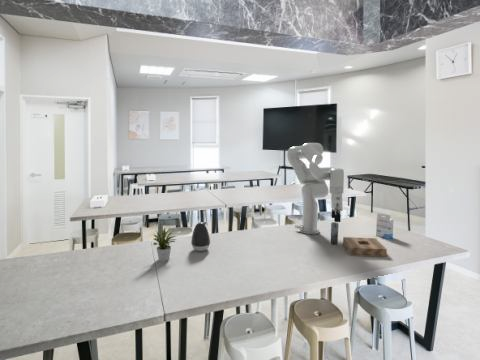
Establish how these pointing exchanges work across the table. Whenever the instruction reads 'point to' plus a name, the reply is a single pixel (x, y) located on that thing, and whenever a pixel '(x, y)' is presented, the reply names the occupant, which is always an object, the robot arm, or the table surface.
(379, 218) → the ink box
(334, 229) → the peg
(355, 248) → the socket
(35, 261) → the table surface
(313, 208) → the robot arm
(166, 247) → the house plant
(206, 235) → the dark grey egg shape
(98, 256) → the table surface
